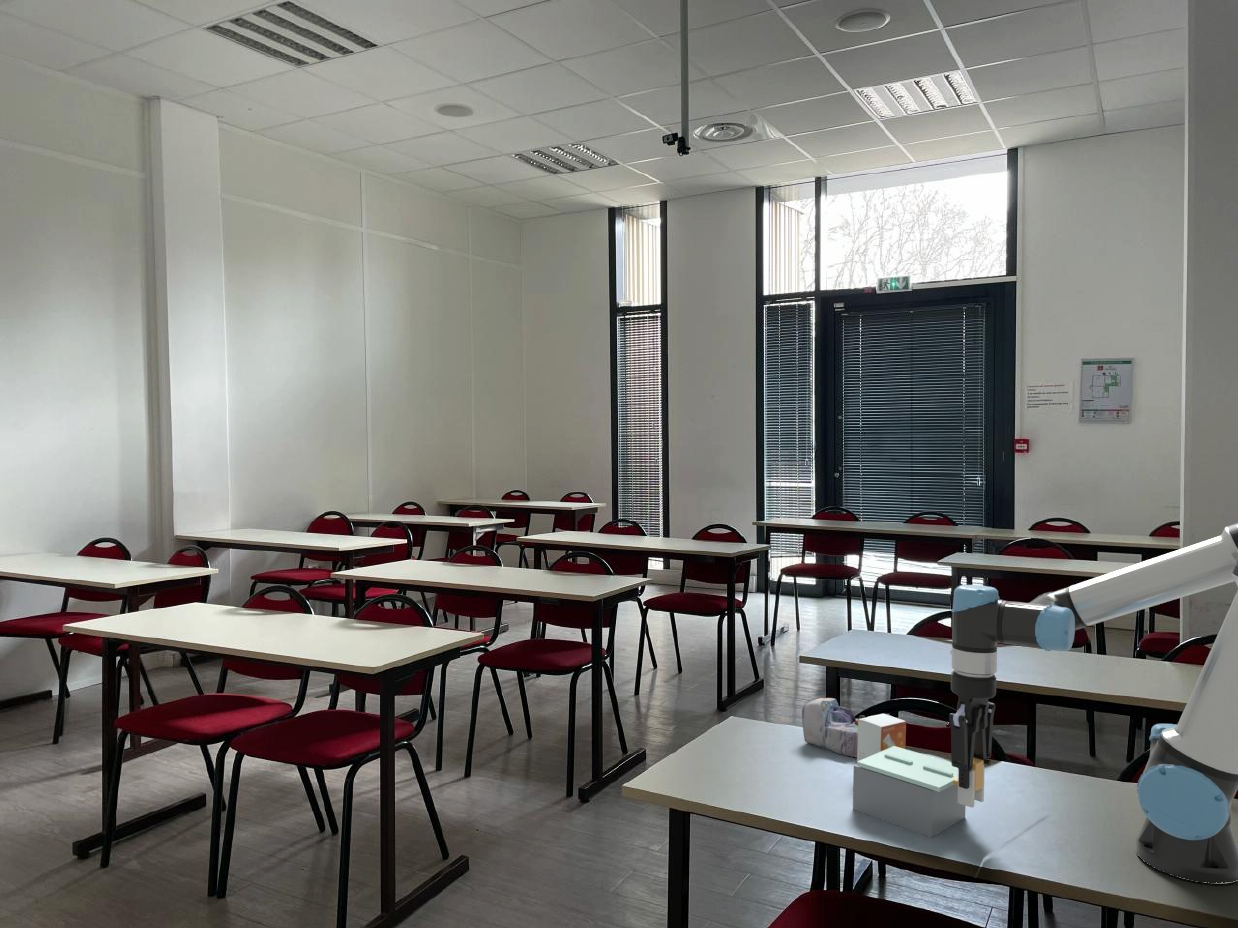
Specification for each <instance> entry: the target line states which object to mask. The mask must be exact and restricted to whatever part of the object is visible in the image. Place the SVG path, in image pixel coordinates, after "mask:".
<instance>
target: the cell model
mask: <svg viewBox="0 0 1238 928" xmlns="http://www.w3.org/2000/svg"><path fill="white" fill-rule="evenodd" d="M874 715H875V714H873V715H872V716H874ZM862 718H866V715H862V714H860V715H859V716H858V718H856V716H855V715H854V714H853V713H852V711H851V709H850V708H848V707H844V706H840V705H839V703H838V701H837V699H836V698H833V697H819V698H817V699H814V700H811V701H808V702H806V703H804V704H803V707H802V709H801V722H802V730H803V738H804V741H805V742H806V743H807V744H811V745H815V746H818V747H822V748H823V749H826V750H828V751H831V752H833V753H837V754H839V755H843V756H844V757H852V758H853V757H855V758H857V750H858V719H862Z"/></svg>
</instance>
